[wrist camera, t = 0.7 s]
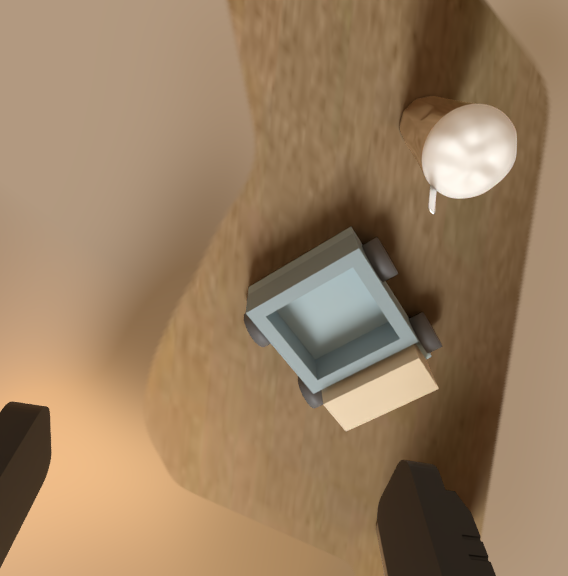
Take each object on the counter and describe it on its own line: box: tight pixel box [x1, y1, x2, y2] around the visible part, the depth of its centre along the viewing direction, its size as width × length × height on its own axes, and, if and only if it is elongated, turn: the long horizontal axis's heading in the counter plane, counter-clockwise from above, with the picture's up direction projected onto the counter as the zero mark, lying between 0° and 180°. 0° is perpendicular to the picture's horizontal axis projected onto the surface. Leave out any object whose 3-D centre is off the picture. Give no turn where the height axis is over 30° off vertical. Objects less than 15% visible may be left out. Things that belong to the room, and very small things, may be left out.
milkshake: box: [399, 96, 517, 214], centre depth 25 cm, size 4×5×10 cm
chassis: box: [244, 227, 442, 431], centre depth 35 cm, size 13×11×5 cm
